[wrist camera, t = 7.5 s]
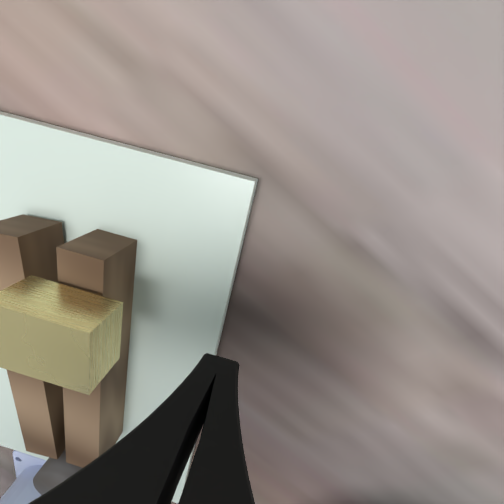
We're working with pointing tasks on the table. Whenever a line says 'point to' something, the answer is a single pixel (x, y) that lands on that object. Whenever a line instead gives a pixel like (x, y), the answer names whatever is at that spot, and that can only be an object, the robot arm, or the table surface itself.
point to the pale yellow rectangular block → (59, 333)
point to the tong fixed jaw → (114, 383)
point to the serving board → (148, 246)
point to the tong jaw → (23, 387)
